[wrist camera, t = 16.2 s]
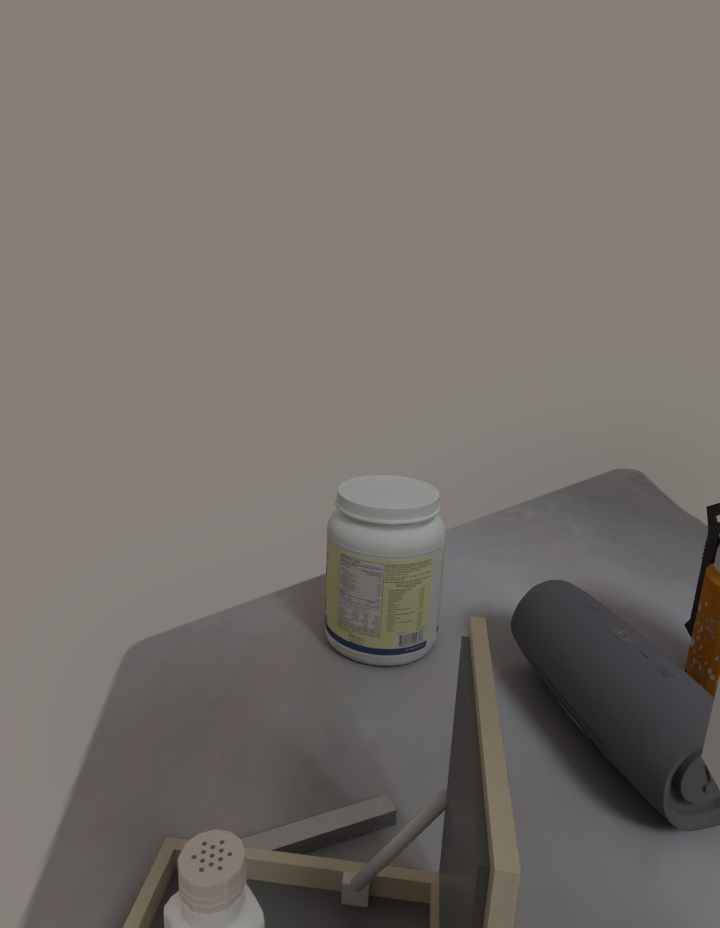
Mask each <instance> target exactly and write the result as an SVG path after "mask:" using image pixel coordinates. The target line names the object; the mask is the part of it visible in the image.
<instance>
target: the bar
mask: <svg viewBox="0 0 720 928" xmlns="http://www.w3.org/2000/svg"><path fill="white" fill-rule="evenodd" d="M396 812H397V810H396V808H395V806H394V805H393V803H392V801H391V800H390V798H389V797H388V795H387V794H385V795H381V796H378V797H375V798H372V799H368V800H365V801H362V802H359V803H355V804H352V805H349V806H346V807H342V808H339V809H336V810H333V811H329V812H326V813H323V814H320V815H317V816H313V817H310V818H307V819H304V820H300V821H297V822H294V823H291V824H287V825H284V826H281V827H278V828H274V829H271V830H268V831H265V832H261V833H258V834H255V835H252V836H248V837H245V838H242V839H241V840H242V841H243V845H244V847H248V848H256V849H264V850H271V851H279V852H287V853H294V854H302V855H304V854H307V853H310V852H313V851H316V850H319V849H322V848H325V847H328V846H331V845H334V844H337V843H340V842H343V841H346V840H349V839H352V838H355V837H358V836H361V835H364V834H367V833H370V832H374V831H377V830H380V829H383V828H386V827H389V826H392V825H395V824H396Z"/></svg>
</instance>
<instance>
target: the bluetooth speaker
mask: <svg viewBox="0 0 720 928" xmlns="http://www.w3.org/2000/svg"><path fill="white" fill-rule="evenodd" d="M511 629H512V633H513V636H514V638H515V640H516V642H517V644H518V645H519V647H520V649H521V651H522V652H523V653H524V655H525V656H526V658H527V659H528V661H529V662H530V663H531V665H532V666H533V667H534V669H535V670H536V671H537V673H538V675H539V676H540V677H541V678H542V680H543V681H544V682H545V684H546V685H547V686H548V688H549V689H550V690H551V691H552V693H553V694H554V695H555V696H556V698H557V700H558V702H559V703H560V705H561V706H562V707H563V709H564V710H565V711H566V713H567V714H568V715H569V716H570V718H571V719H572V720H573V721H574V722H575V724H576V725H577V726H578V727H579V728H580V730H581V731H582V732H583V733H584V734H585V735H586V736H587V737H588V738H589V739H590V740H591V741H592V742H593V743H594V744H595V746H596V747H597V748H598V749H599V750H600V752H601V753H602V754H603V755H604V756H605V757H606V758H607V760H608V761H609V762H610V763H611V764H612V765H613V766H614V767H615V768H616V769H617V770H618V771H620V772H621V773H622V774H623V775H624V776H625V777H626V778H627V780H628V781H629V782H630V783H631V784H632V785H633V786H634V787H635V788H636V789H637V791H638V792H639V793H640V794H641V795H642V796H643V797H644V798H645V799H646V800H647V801H648V802H649V803H650V804H651V805H652V806H653V807H654V808H655V809H656V810H657V811H658V812H659V813H660V814H661V815H662V816H664V817H665V818H666V819H667V820H668V821H669V822H670V823H672V824H673V825H674V826H675V827H677V828H679V829H681V830H684V831H692V830H699V829H705V828H709V827H713V826H718V825H720V790H719V788H718V786H717V784H716V782H715V781H714V779H713V777H712V775H711V773H710V772H709V770H708V768H707V766H706V764H705V762H704V761H703V759H702V757H701V755H702V751H703V747H704V742H705V738H706V733H707V729H708V725H709V720H710V716H711V711H712V707H713V703H714V698H713V697H712V696H711V695H710V694H709V693H708V692H707V691H706V690H705V689H704V688H703V687H701V686H700V685H699V684H698V683H697V682H696V681H695V680H694V679H693V678H692V677H690V676H689V675H688V674H687V673H686V672H685V671H684V670H682V669H681V668H680V667H679V666H678V665H677V664H675V663H674V662H673V661H672V660H671V659H670V658H669V657H667V656H666V655H665V654H664V653H663V652H662V651H660V650H659V649H658V648H657V647H656V646H654V645H653V644H652V643H651V642H650V641H648V640H647V639H646V638H645V637H644V636H642V635H641V634H640V633H639V632H637V631H636V630H635V629H634V628H632V627H631V626H630V625H628V624H627V623H626V622H625V621H623V620H622V619H621V618H620V617H618V616H617V615H616V614H614V613H613V612H612V611H611V610H609V609H608V608H607V607H605V606H604V605H602V604H601V603H600V602H598V601H597V600H596V599H594V598H593V597H592V596H590V595H589V594H587V593H586V592H584V591H583V590H581V589H579V588H578V587H576V586H574V585H572V584H571V583H568V582H566V581H562V580H550V581H546V582H543V583H540V584H538V585H536V586H534V587H533V588H532V589H531V590H529V591H528V593H527V594H526V595H525V596H524V597H523V598H522V600H521V601H520V602H519V604H518V605H517V607H516V609H515V612H514V614H513V617H512V621H511Z"/></svg>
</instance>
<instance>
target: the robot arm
mask: <svg viewBox="0 0 720 928" xmlns="http://www.w3.org/2000/svg"><path fill="white" fill-rule="evenodd" d="M701 757H702V759H703V761H704V762H705V764H706V766H707V768H708V770H709V772H710V773H711V775H712V777H713V779H714V781H715V782H716V784H717V786H718V788H719V790H720V676H719V680H718V685H717V689H716V694H715V698H714V703H713V707H712V711H711V716H710V720H709V725H708V729H707V733H706V738H705V742H704V747H703V751H702V755H701Z"/></svg>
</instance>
